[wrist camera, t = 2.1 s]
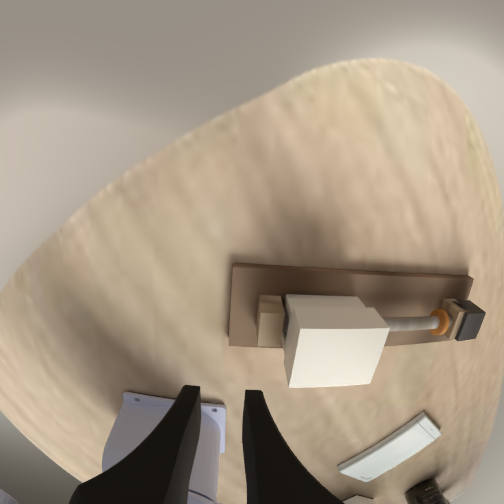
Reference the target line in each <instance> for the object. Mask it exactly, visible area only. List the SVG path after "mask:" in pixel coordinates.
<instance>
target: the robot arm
mask: <svg viewBox="0 0 504 504" xmlns="http://www.w3.org/2000/svg"><path fill="white" fill-rule="evenodd" d="M122 397H123V400H124V402H123V404H122V406H121V409H120V411H119V413H118V416H117V418H116V420H115V423H114V425H113V427H112V430H111V432H110V435H109V437H108V440H107V442H106V445H105V448H104V452H103V459H102V472H103V473H101V474H99V475H98V476H96V477H94V478H92V479H90V480H88V481H86V482H84V483H82V484H80V485H78V487H77V488H76V490H75V491H74V493H73V495H72V497H71V499H70V502H69V504H222V503H217V486H218V470H219V455H220V454H221V453H224V452H225V428H226V407H225V406H224V405H221V404H210V403H201V397H200V386H191V385H185V386H183V387H182V389H181V391H180V393H179V395H178V397H177V398H176V400H174V399H167V398H160V397H154V396H148V395H142V394H137V393H131V392H124V393H123V395H122ZM214 408H215V409H214ZM242 443H243V453H244V463H245V473H246V482H247V504H345V503H344V502H342V501H341V500H340V499H338V498H337V497H336V496H334V495H333V494H332V493H331V492H329V491H328V490H327V489H326V488H325V487H324V486H322V485H321V484H320V483H319V482H318V481H317V480H316V479H315V478H314V477H313V476H312V475H311V474H310V473H309V472H308V470H307V469H306V468H305V467H304V466H303V465H302V464H301V462H300V461H299V460H298V459H297V457H296V456H295V455H294V453H293V452H292V451H291V449H290V448H289V446H288V445H287V443H286V441H285V440H284V438H283V437H282V435H281V433H280V432H279V430H278V428H277V426H276V424H275V422H274V420H273V418H272V416H271V414H270V412H269V409H268V407H267V404H266V402H265V399H264V395H263V392H262V391H261V390H245V400H244V411H243V425H242ZM0 504H18V503H17V501H16V500H15V499H13V498H12V497H11V496H10V495H8V494H7V493H6V492H4V491H3V490H1V489H0Z"/></svg>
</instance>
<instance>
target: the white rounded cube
mask: <svg viewBox="0 0 504 504" xmlns="http://www.w3.org/2000/svg"><path fill="white" fill-rule="evenodd" d="M284 312H285V316H287V317H289V324H288V330H287V332H282V337H281V338H282V343H283V348H284V353H285V358H284V365H285V371H286V376H287V382H288V387H289V388H309V387H334V386H349V385H362V384H370V382H371V379H372V377H373V374H374V372H375V369H376V367H377V364H378V361H379V358H380V356H381V353H382V350H383V347H384V344H385V341H386V339H387V336H388V332H389V329H390V327H389V326H388V325H387V324H386V322H385V321H384V320H383V319H382V317H381V316H380V315H379V314H378V312H377V311H376V310H375V309H374V308H366V307H365V305H364V304H363V303H362V301H361V300H360V299H359V298H358V297H354V296H321V295H297V294H286V299H285V306H284Z"/></svg>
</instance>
